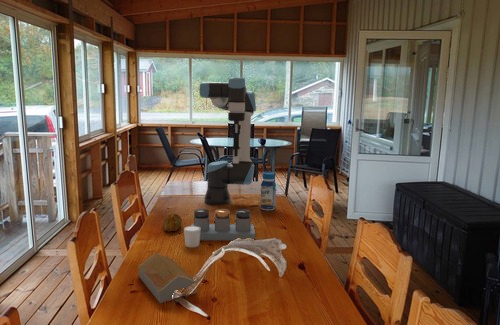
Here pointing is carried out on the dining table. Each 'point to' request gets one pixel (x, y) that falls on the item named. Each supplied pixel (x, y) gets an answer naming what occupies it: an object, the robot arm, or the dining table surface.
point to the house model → (160, 266)
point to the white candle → (192, 236)
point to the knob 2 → (243, 213)
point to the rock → (172, 222)
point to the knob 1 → (201, 213)
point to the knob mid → (222, 213)
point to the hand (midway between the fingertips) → (235, 162)
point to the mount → (225, 229)
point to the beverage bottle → (268, 191)
